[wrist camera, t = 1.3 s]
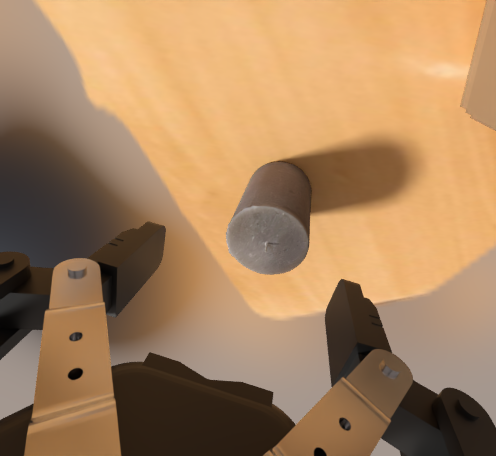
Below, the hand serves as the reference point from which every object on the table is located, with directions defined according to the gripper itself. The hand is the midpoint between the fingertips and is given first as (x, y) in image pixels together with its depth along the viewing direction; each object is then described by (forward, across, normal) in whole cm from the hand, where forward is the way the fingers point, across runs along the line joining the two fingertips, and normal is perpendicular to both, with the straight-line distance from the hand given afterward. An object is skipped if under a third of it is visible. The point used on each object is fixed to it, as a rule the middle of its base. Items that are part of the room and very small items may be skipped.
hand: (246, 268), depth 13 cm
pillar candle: (+32, -1, +6) cm, 32 cm away
